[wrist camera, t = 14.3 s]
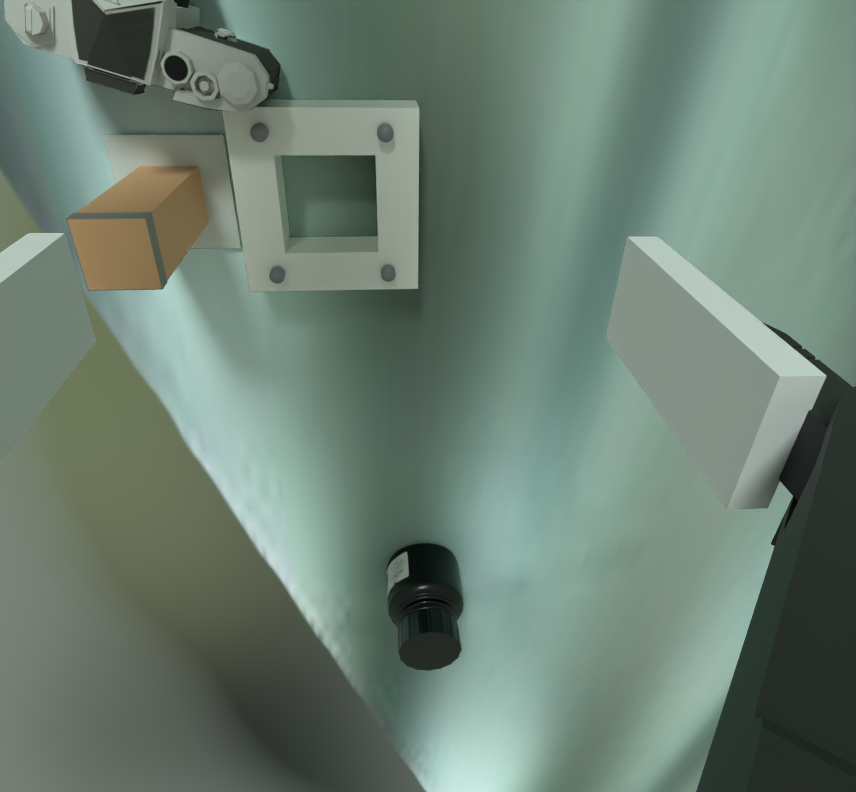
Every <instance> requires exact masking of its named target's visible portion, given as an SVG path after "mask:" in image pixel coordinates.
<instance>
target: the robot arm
mask: <svg viewBox="0 0 856 792" xmlns="http://www.w3.org/2000/svg"><path fill="white" fill-rule="evenodd" d="M606 338H607V339H608V341H609V342H610V344H611V345H612V347H613V348H614V349H615V351H616V352H617V354H618V355H619V357H620V358H621V359H622V361H623V362H624V364H625V365H626V367H627V368H628V369H629V371H630V372H631V374H632V375H633V376H634V378H635V379H636V381H637V382H638V384H639V385H640V386H641V388H642V389H643V391H644V392H645V394H646V395H647V396H648V398H649V399H650V401H651V402H652V403H653V405H654V406H655V408H656V409H657V411H658V412H659V413H660V415H661V416H662V418H663V419H664V421H665V422H666V423H667V425H668V426H669V428H670V429H671V431H672V432H673V433H674V435H675V436H676V438H677V439H678V440H679V442H680V443H681V445H682V446H683V448H684V449H685V450H686V452H687V453H688V455H689V456H690V458H691V459H692V460H693V462H694V463H695V465H696V466H697V467H698V469H699V470H700V472H701V473H702V475H703V476H704V477H705V479H706V480H707V482H708V483H709V485H710V486H711V487H712V489H713V490H714V492H715V493H716V495H717V496H718V497H719V499H720V500H721V502H722V503H723V504H724V506H725V507H726V509H753V508H768V506H769V504H770V502H771V500H772V497H773V495H774V493H775V491H776V488H777V486H778V484H779V482H780V481H781V482H782V483H783V485H784V486H785V487H786V488H787V489H788V490H789V492H790V493H791V494H792V495H793V498H792V500H791V502H790V504H789V506H788V508H787V510H786V513H785V515H784V517H783V519H782V521H781V523H780V525H779V527H778V530H777V532H776V534H775V536H774V538H773V540H772V542H771V544H772V545H774V546H775V547H774V550H773V553H772V556H771V559H770V563H769V566H768V569H767V572H766V575H765V578H764V581H763V584H762V588H761V591H760V594H759V597H758V600H757V603H756V606H755V609H754V613H753V616H752V619H751V622H750V625H749V628H748V631H747V634H746V638H745V641H744V644H743V647H742V650H741V653H740V656H739V659H738V663H737V666H736V669H735V672H734V675H733V678H732V681H731V685H730V688H729V691H728V694H727V697H726V700H725V703H724V706H723V710H722V713H721V716H720V719H719V722H718V725H717V728H716V731H715V735H714V738H713V741H712V744H711V747H710V750H709V753H708V756H707V760H706V763H705V766H704V769H703V772H702V775H701V778H700V781H699V785H698V788H697V791H696V792H856V387H852V386H851V385H850V384H848V383H847V382H846V381H845V380H843V379H842V378H841V377H840V376H838V375H837V374H836V373H835V372H833V371H832V370H831V369H830V368H828V367H827V366H826V365H825V364H823V363H822V362H821V361H820V360H815V356H813V355H812V354H811V353H810V352H808V351H807V350H806V349H802V346H801V345H800V344H798V343H797V342H796V341H795V340H793V339H792V338H791V337H790V336H788V335H787V334H786V333H784V332H782V331H780V330H777V329H775V328H773V327H771V326H769V325H767V324H765V323H763V322H761V321H759V320H758V319H757V318H756V317H755V316H753V315H752V314H751V313H750V312H748V311H747V310H746V309H745V308H744V307H742V306H741V305H740V304H739V303H738V302H736V301H735V300H734V299H733V298H731V297H730V296H729V295H728V294H727V293H725V292H724V291H723V290H722V289H720V288H719V287H718V286H717V285H716V284H714V283H713V282H712V281H711V280H710V279H708V278H707V277H706V276H705V275H703V274H702V273H701V272H700V271H699V270H697V269H696V268H695V267H694V266H692V265H691V264H690V263H689V262H688V261H686V260H685V259H684V258H683V257H682V256H680V255H679V254H678V253H677V252H675V251H674V250H673V249H672V248H671V247H669V246H668V245H667V244H666V243H665V242H663V241H662V240H661V239H660V238H658V237H627V241H626V246H625V251H624V255H623V260H622V265H621V269H620V274H619V279H618V284H617V288H616V293H615V298H614V302H613V307H612V312H611V317H610V321H609V326H608V331H607V335H606ZM95 343H96V340H95V336H94V333H93V329H92V326H91V322H90V319H89V316H88V312H87V309H86V305H85V302H84V298H83V295H82V291H81V288H80V285H79V281H78V278H77V274H76V271H75V267H74V264H73V261H72V257H71V254H70V250H69V247H68V243H67V240H66V236H65V233H29V234H27V235H25V236H24V237H23V238H21V239H20V240H18V241H17V242H15V243H14V244H12V245H11V246H10V247H8V248H7V249H5V250H4V251H2V252H1V253H0V462H1V461H2V460H3V459H4V457H5V456H6V455H7V454H8V452H9V451H10V450H11V449H12V447H13V446H14V445H15V444H16V442H17V441H18V440H19V438H20V437H21V436H22V435H23V434H24V432H25V431H26V430H27V429H28V427H29V426H30V425H31V423H32V422H33V421H34V420H35V418H36V417H37V416H38V415H39V413H40V412H41V411H42V410H43V408H44V407H45V406H46V405H47V403H48V402H49V401H50V400H51V398H52V397H53V396H54V394H55V393H56V392H57V391H58V389H59V388H60V387H61V386H62V384H63V383H64V382H65V380H66V379H67V378H68V377H69V376H70V374H71V373H72V371H73V370H74V369H75V368H76V366H77V365H78V364H79V363H80V362H81V360H82V359H83V358H84V357H85V355H86V354H87V353H88V352H89V350H90V349H91V348H92V346H93V345H94V344H95Z"/></svg>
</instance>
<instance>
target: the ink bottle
mask: <svg viewBox="0 0 856 792" xmlns="http://www.w3.org/2000/svg"><path fill="white" fill-rule="evenodd" d="M387 599H388V612H389V616H390V618H391V620H392V621H393V623H394V624H395V625H396V626H397V627H398V649H399V655H400V659H401V661H403V662H404V663H405V664H406V665H407V666H409V667H412V668H415V669H417V670H434V669H441V668H442V667H445V666H447V665H450V664H451V663H452V662H453V661H455V660H456V659H457V658H458V657H459V654H460V652H461V643H460V636H459V629H458V624H457V620H458V619H459V617H460V616H461V613H462V611H463V595H462V588H461V582H460V576H459V569H458V564H457V560H456V558H455V556H454V555H453V553H452V552H451V551H450V550H448V549H447V548H445V547H443V546H440V545H437V544H429V543H422V544H415V545H410V546H407V547H405V548H402V549H400V550H399V551H397V552H396V553H395V554H394V555H393V556H392V557H391V559H390V561H389V563H388V566H387Z"/></svg>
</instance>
